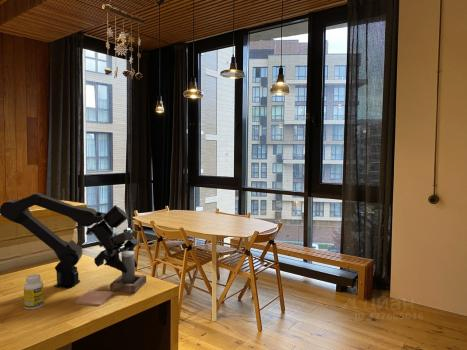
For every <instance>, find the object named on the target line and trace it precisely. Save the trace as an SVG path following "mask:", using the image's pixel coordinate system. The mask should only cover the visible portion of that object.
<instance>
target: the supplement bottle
mask: <svg viewBox="0 0 467 350" xmlns="http://www.w3.org/2000/svg"><path fill="white" fill-rule="evenodd" d="M44 294H45V293H44V282H43V281H42V280H41V274H37V273H34V274H30V275H27V276H26V277H25V284H24V285H23V304H24V309H26V310H36V309H39V308H42V307H43V306H44V304H45V301H44V300H45V299H44V297H45V295H44Z"/></svg>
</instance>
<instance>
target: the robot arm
mask: <svg viewBox="0 0 467 350" xmlns="http://www.w3.org/2000/svg"><path fill="white" fill-rule="evenodd" d="M34 206H37V207H40V208H41V209H42V208H43V209H45V210H49V211H51V212H54V213H56V214H60V215H62V216H66V217H68V218H70V219H71V220H72V221H74V222H75V223H76V224H78V225H81V226H83V227H86V232H85V235H86V236H92V235H94V236H95V237H96V239H97V241H98V242H99V244H98V246H99V247H100V248H104V249H103V250H102V251H100V252H99V253H98V254H97V256H95V258H94V264H95V265H96V266H97V267H100V266H102V265H104V266H109V267H111V268H113V269H116V270H117V271H120V272H121V273H122V272H124V273H126V272H127V269H126V267H125V266H124V264H123V263H122V259H120V253H122V252H125V251H134V249H135V248H136V246H137V245H138V244H139V242H140V241H139V240H138V239H137V238H136V237H135V238H133V236H134V232H133V230H132V229H131V228H130V227H128V228H126V229H123V232H121V233H119V232H117V231H116V232H114V231H113V230H112V229H113V228H115V229H117V228H119V227H120V226H121V225H122V224H123V223H124V222H125V221H127V220H128V219H129V216H128V215H127V213H126V211H124V209H121V208H120V207H119V206H118V205H116V204H115V205H113V206H112V207H111V209H110V210H108V211H107V212H102V211H97V210H96V209H95V208H91V207H88V206H78V205H72V204H70V203H68V202H65V201H62V200H59V199H56V198H53V197H51V196H48V195H45V194H43V193H41V192H35V193H33V194H31V195H29V196H27V197H23V198H21V199H19V198H13V199H10V200H8V201H5V202H3V203H2V204H1V205H0V215H1V217H3V218H5V219H6V220H8V221H9V222H13V223H15V224H18V225H21V226H22V227H24V228H25V229H26V231H27V230H28V231H29V232H30V233H31V234H32V235H34V236H35V237H36V238H37V239H39V240H40V241H41V242H42V243H44V244H45V245H46V246H47V247H49V248H50V249H51V250H53V252H54V253H55V256H57V257H56V258H57V259H58V260H59V262H58V263H57V264H56V265H55V267H54V270H55V272H56V284H55V285H54V286H53V287H54V288H65V289H70V288H73V287H74V286H76V285H77V284H78V283H80V282H81V280H80V279H79V271H78V266H76V265H77V264H78V262H79V261H80V259H81V258H82V256H83V250H82V249H81V245H79V244H77V243H76V242H75V240H73V239H71V240H69V241H66V240H64V239H63V238H61V237H60V236H58V234H56V233H55V232H54V231H52V229H50V228H49V227H48V226H46V225H45V224H43V223H42V222H41V220H39V219H38V218H36V217H35V216H33V214H32V212H31V210H30V209H29V208H32V207H34ZM97 267H96V268H97ZM137 267H138V263H137V261H136V259H135V269H136V268H137Z"/></svg>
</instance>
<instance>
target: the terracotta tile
mask: <svg viewBox="0 0 467 350" xmlns="http://www.w3.org/2000/svg"><path fill="white" fill-rule="evenodd" d="M114 293H115V291H104V290H90V289H88V291H86V292H84V294H82V295H81V296H80V297H78V298H77V299H76V300H74V301H73V304H75V305H87V306H98V307H100V306H102V304H104V302H106V301H108V299H109V298H111V296H113V295H114Z"/></svg>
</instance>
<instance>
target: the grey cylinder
mask: <svg viewBox="0 0 467 350" xmlns="http://www.w3.org/2000/svg"><path fill="white" fill-rule="evenodd" d="M120 253H121V262H122V263H123V264H124V266H125V267H126V269H127V272H126V273H124V272H122V271H121V275H122V283H126V284H134V283H135V275H136V268H135V260H136V258H135V251H134V250H133V251H125V252H120Z"/></svg>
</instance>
